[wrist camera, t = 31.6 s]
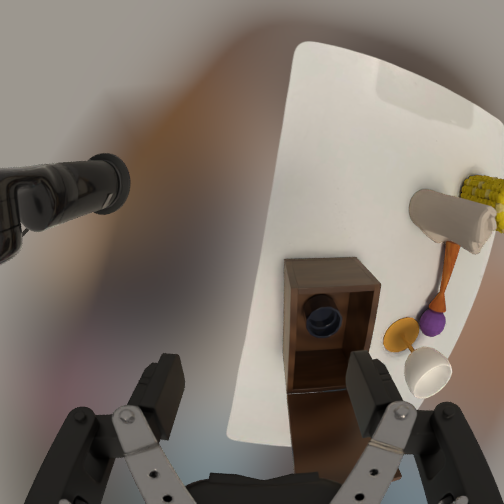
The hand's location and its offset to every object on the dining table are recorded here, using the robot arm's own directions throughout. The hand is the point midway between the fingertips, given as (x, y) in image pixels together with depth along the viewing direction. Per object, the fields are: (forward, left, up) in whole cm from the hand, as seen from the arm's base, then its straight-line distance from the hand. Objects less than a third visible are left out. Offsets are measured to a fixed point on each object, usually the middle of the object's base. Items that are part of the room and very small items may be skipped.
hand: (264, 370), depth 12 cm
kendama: (+36, -14, -36) cm, 53 cm away
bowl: (+10, -17, -35) cm, 40 cm away
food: (+43, +5, -36) cm, 56 cm away
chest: (+10, -17, -36) cm, 41 cm away
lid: (+10, -25, -13) cm, 30 cm away
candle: (+33, 0, -36) cm, 49 cm away
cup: (+30, -25, -36) cm, 53 cm away
